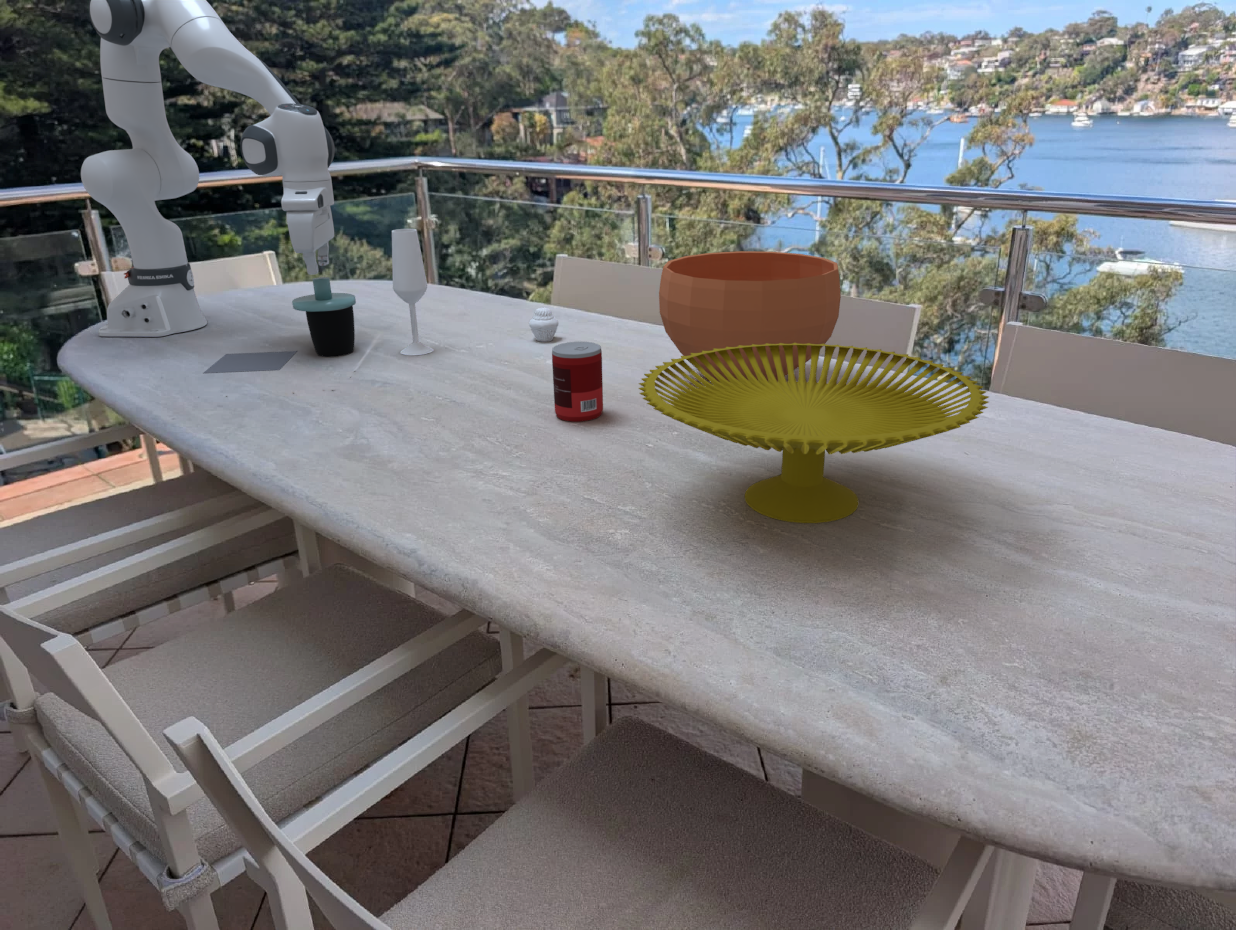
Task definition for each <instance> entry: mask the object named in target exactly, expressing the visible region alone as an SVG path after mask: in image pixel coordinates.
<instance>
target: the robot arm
mask: <svg viewBox="0 0 1236 930" xmlns="http://www.w3.org/2000/svg"><path fill="white" fill-rule="evenodd" d="M88 16H89V20H90V21H91V24H92V27H93V29H94V30H95V31H96V33H97V34H98V36H100V49H99V52H100V53H99V54H100V55H99V59H100V62H99V63H100V73H101V81H102V89H103V98H104V106H105V113H106V115H107V117H108V119H109V120H110V121H111V122H112V123H113V124H114V125H116V126H117V127H118V128H120V129H123V130H124V131H125V132H126V133H127V134H128V136H129V138H130V141H131V145H132V148H130V149H129V148H128V149H127V148H125V149H114V150H113V149H111V150H106V151H105V150H104V151H102V152H99V153H95V154H91V155H89V156H88V157H86V158H84V160H83V163H82V165H81V168H80V178H81V182H82V186H83V187H84V189H85V191H86V192H87V194H88V195H89V196H90V198H92V199H93V200H94V201H96V202H97V203H99V204H100V205H103V206H104V207H106V209H108V210H109V211H110V212H111V213H112V215H114V217H115V218H116V219H117V221H118V223H119V224H120V226H121V228H122V230H123V232H124V235H125V239H126V242H127V245H128V248H129V253H130V257H131V260H132V264H133V266H132V267H131V268H130V269H129V270H127V271H126V272H124V273H123V275H124V279H126V280H127V281H128V285H127V286H126V287H125V288H124V289H123V290H122V291H121V292H120V293H119V294H118V295H117V296H116V297H115V298H113V299H112V301H111V302H109V304H108V305H107V308H106V321H107V322H106V323H107V324H104V325H103V326H101V327H100V328H99V329H98V332H97V333H98V336H99V337H135V338H137V337H151V338H152V337H154V338H155V337H165V336H168V335H169V336H170V335H172V334H178V333H183V332H190V331H193V330H197V329H200V328H203V327H205V326H206V325H208V321H207V319H206V317H205V315H204V313H203V311H202V309H201V307H200V304H199V301H198V298H197V295H196V291H195V279H194V275H193V271H192V268H191V263H189V262H188V258H187V256H188V255H187V252H186V247H185V241H184V237H183V233H182V230H181V228H180V227H179V226H178V225H177V223H174V222H173V221H171V220H169V219H167V218H165V217H164V216H163V215H162V214H161V212H159V209H158V208H157V205H156V201H162V200H171V199H177V198H180V197H183V196H185V195H189V194H190V193H192V192H194V191H195V190H196V189H197V187H198V185H199V181H200V171H199V167H198V164H197V162H196V161H195V160H196V159H194V157H193V156H192V155H191V154H190V153H189V152H188V151H186V150H185V149H184V148H183V147H182V146H181V145H180V144H179V143H178V141H177V140H176V138H175V137H174V134H173V133H172V131H171V129H170V125H169V123H168V120H167V115H166V108H165V101H164V93H163V85H162V84H163V83H162V74H161V67H160V54H161V53H162V51H163V50H165V49H170V50H171V51H172V52H173V53H174V55H175V56H176V58H177V60H178V61H179V62H180V64H181V65H182V67H183V68H184V69H185V70H186V71H187V73H189V74H190V75H191V76H192V77H194V79H196V80H197V81H198V82H201V83H203V84H206V85H208V86H212V87H216V88H218V89H219V88H220V89H225V90H228V91H232V92H235V93H239V94H241V95H245V96H247V97H249V98H252V99H253V100H254V101H256V102H258V103H259V104H260V105H261V106H262V107H263V108H264V110H265V111H266V112H267V113H268V114H269V115H270V116H268V117H266V118H265V119H264V120H262V121H259V122H257V123H255V124H251V125H248V126H247V127H245V130H243V132H242V135H241V137H240V153H241V156H242V160H243V162H244V164H245V165H246V166H247V168H248V169H249V170H250V171H251V172H252V173H254V174H255V175H257V176H263V177H275V176H276V177H279V176H282V178H281V179H282V180H281V181H282V187H283V188H282V189H283V190H282V191H283V194H282V197H281V201H280V203H281V209H282V211H284V212H286V222H287V223H286V224H287V228H288V234H289V237H290V243H291V247H292V248H293V251H294V252H295V253H296V254H302V258H303V261H304V263H305V266H306V272H307V274H308V275H312V276H313V275H317V274H319V266H321V267H322V266H328V265H329V264H330V260H329V252H330V251H329V249H330V245H329V241H331V240H332V239H334V237H335V228H334V227H335V226H334V221H333V214H332V209H331V208H332V207H331V206H334V205H335V199H334V197H335V196H334V191H333V183H332V175H331V173H330V171H329V168H330V167H331V165H332V162H333V160H334V157H335V150H336V147H335V143H334V140H333V138H332V135H331V134H330V132H329V131H328V129H327V128H326V126H324V123H323V120H322V116H321V114H320V112H319V111H318V110H317V109H316V108H315V107H314V106H313V107H312V106H309V105H307V104H301V103H300V101H299V100H298V99H297V98H296V97H295V96H294V94H293V93H292V92H291V91H290V90H289V89H288V87H287V86H286V85H285V83H284V82H282V81H281V79H280V78H279V77H278V76H277V75H276V73H275V72H274V71H273V70H272V69H271V68H270V67H269V65H267V64H266V63H265V62H264V61H263V60H262V59H260V58H259V57H257V56H256V55H255V54H253V53H252V52H251V51H250V50H248V48H246V47H245V46H244V45H243V43H241V42H240V40H238V39H237V37H235V36H234V35H233V33H231V31H230V29H228V27H227V26H226V24H225V23H224V22H223V19H221V17H220V15H219V14H218V13H217V12H216V11H215V9H214V8H213V7H212V5H211V4H210V3H209V2H208V1H207V0H88ZM316 253H317V254H316ZM316 255H317V257H316ZM317 261H318V263H317Z"/></svg>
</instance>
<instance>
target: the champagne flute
mask: <svg viewBox="0 0 1236 930" xmlns="http://www.w3.org/2000/svg"><path fill="white" fill-rule="evenodd" d="M418 235H419V234H418V230H417V229H415V228H400V229H399V228H397V229H393V230H391V256H392V257H391V263H392V289H393V291H394V293H395V294H396V296H397V297H398V298H400V299H401V300H402V301H404V303H406V304H408V305H409V306H408V307H409V316H410V323H411V324H410V325H411V327H410V328H411V335H412V336H411V337H412V342H411V343H410V344H409V345H407V346H406V347H405V348H403V349H402V350H401V351H400V354H401V355H405V356H421V355H427V354H430V353H432V352H434V348H432V347H431V346H428V345H426V344H424V343H423V342H421V341H420V340H419V329H418V328H419V327H418V319H417V311H416V304H417V303H418V302H420V300H421V299H422V298H423V296H424V295H425V293H427V289H428V283H427V277H426V271H425V265H424V262H423V256H422V251H421V246H420V241H419V236H418Z"/></svg>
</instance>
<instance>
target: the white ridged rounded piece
mask: <svg viewBox="0 0 1236 930" xmlns="http://www.w3.org/2000/svg"><path fill="white" fill-rule="evenodd" d="M552 313H553V312H552V310H551V309H550V308H548V307H544V306H542V307H539V308H536V310H534V315H533V316H532V318H531V319H530V320H529V321H528V326H529V327H530V330H531V332H532V334H533V336H534V338H535V339H536V341H538V342H543V343H546V342H551V341H552V340H553V339H554V337H555V334H556V333H557V330H558V326H559V320H558V319H557V318H556V317H555V316H554V314H552Z"/></svg>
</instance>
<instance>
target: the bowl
mask: <svg viewBox="0 0 1236 930" xmlns="http://www.w3.org/2000/svg"><path fill="white" fill-rule="evenodd" d="M658 289H659V291H658V301H659V304H658V305H659V315H660V317H661V320H662V325H663V329H664V331H665V333H666V334H667V336H668V337H669V339H670V340H671V342H672V344H674V346H675V347H676V348H677V350H678V351H679V353H680V354H681V356H689V355H691V353H702V351H712V350H713V348H716V349H723V348H726V347H738V346H739V345H741V346H750V345H752V344H755V345H764V344H766V343H768V344H779V343H783V344H792V343H798V344H808V343H810V344H823V343H824V344H826V343H827V342H828V341H829V340H830V338H832V335H833V332H834V329H835V327H836V325H837V321H838V319H839V315H840V308H841V307H840V305H841V298H842V297H841V296H842V295H841V283H840V272H839V267H838V263H837V262H835V261H833V260H830V259H827V258H826V257H820V256H815V255H809V254H804V253H792V252H780V251H757V250H756V251H754V250H753V251H752V250H751V251H748V250H747V251H746V250H745V251H744V250H743V251H740V250H738V251H722V252H721V251H719V252H708V253H699V254H690V255H684V256H681V257H677V258H675V259H671V260H668V261H667V262H666V263H665V264H664V265H663V268H662V272H661V274H660V283H659V288H658ZM765 347H766V353H767V357H768V361H769V364H770V367H771V370H772V372H773V374H774V376H775V378H776V380H777V382H778V376H777V371H776V367H775V363H774V359H773V356H772V353H771V350H770V348H769V346H765ZM823 347H824V346H821V349H822V348H823ZM739 350H740V353H741V355H742V357H743V359H744V361H745V363H746V365H747V367H748V368H749V370H750V372H751V373H752V375H753V376H754V377H755V378H756V379H757V380H758V378H757V376H756V373H755V371H754V369H753V367H752V365H751V363H750V361H749V359H748V357H747V355H746V353H745V352H744V350H743V349H742V348H739ZM752 350H753V353H754V356H755V358H756V361H757V364H758V366H759V368H760V370H761V372H762V374H763V375H764V377H765V378H766V380H767V381H768V377H767V374H766V371H765V368H764V365H763V362H762V360H761V357H760V355H759V353H758V351H757V349H756V347H755V346H754V347H752ZM727 352H728V354H729V356H730V358H731V360H732V361H733V363H734V365H735V366H736V367H737V369H738V370H739V371H740V373H741V374H742V375H743V376H744V377H745V378H746V379H747V380H748V378H747V376H746V374H745V372H744V371H743V369H742V367H741V366H740V364H739V362H738V361H737V359H736V358H735V356H734V355H733V353H732V352H731V351H730V349H727ZM779 353H780V359H781V365H782V369H783V373H784V376H785V377H786V376H788V369H787V362H786V357H785V352H784V348H783V346H782V345H779ZM715 354H716V355H717V357H718V358H719V360H720V361H721V363H722V364H723V365H724V367H725V368H726V369H727V370H728V371H729V373H730V374H731V375H732V376H733V377H734V378H735V379H737V377H736V375H735V374H734V373H733V371H732V370H731V368H730V367H729V365H728V364H727V363H726V361H725V360H724V359H723V357H722V356H721V355H720V354H719V353H718V352H717V351H716V352H715ZM704 356H705V358H706V359H707V360H708V361H709V363H710V364H711V365H712V366H713V367H714V369H715V370H716V371H717V372H718V373H719V374H720V375H721V376H723V377H724V378H725V379H726V380H727V381H729V380H728V378H727V377H726V376H725V375H724V373H723V372H722V371H721V370H720V368H719V367H718V366H717V365H716V364H715V362H714V361H713V360H712V359H711V358H710V357H709V356H708V355H707V354H706V353H705V354H704ZM693 358H694V359H695V360H696V361H697V363H698V364H699V365H700V366H701V367H702V368H703V369H704V370H705V371H706V372H707V373H708V374H709V375H711V376H712V377H713V378H714V379H716V380H717V381H718V382H720V381H719V380H718V379H717V378H716V377H715V376H714V375H713V373H712V372H711V371H710V370H709V369H708V368H707V367H706V366H705V365H704V364H703V363H702V362H701V361H700V360H699V359H698V358H697V357H696V356H694V357H693ZM809 361H811V345H807V349H806V359H805V364H806V363H807V362H809ZM793 366H794V371H795V370H797V369H799V360H798V350H797V346H796V345H793ZM737 380H738V379H737ZM738 381H739V380H738ZM748 381H749V380H748ZM729 382H730V381H729ZM758 382H759V381H758ZM720 383H721V382H720ZM730 383H731V382H730Z"/></svg>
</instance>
